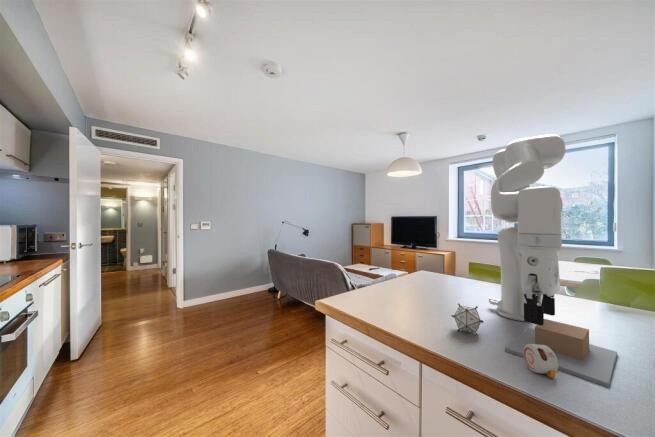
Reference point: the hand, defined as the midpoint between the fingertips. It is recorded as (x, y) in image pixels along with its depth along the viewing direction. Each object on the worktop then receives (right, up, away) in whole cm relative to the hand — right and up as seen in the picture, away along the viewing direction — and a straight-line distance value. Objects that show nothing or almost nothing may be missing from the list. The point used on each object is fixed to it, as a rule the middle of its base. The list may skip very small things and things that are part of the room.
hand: (540, 318), depth 56 cm
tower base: (+12, -12, +8) cm, 19 cm away
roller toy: (0, -12, 0) cm, 12 cm away
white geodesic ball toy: (-5, -13, +20) cm, 24 cm away
